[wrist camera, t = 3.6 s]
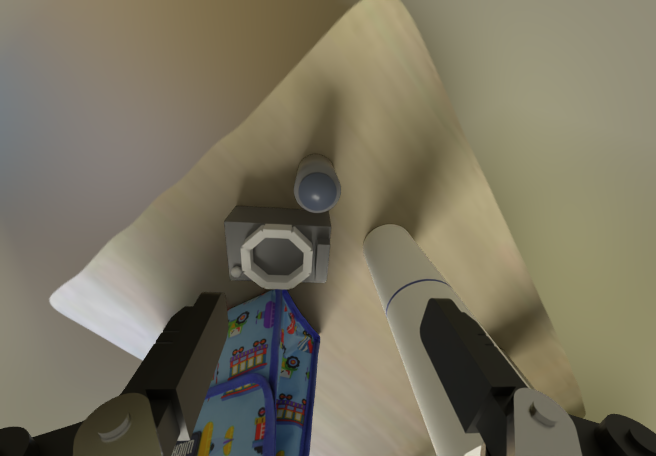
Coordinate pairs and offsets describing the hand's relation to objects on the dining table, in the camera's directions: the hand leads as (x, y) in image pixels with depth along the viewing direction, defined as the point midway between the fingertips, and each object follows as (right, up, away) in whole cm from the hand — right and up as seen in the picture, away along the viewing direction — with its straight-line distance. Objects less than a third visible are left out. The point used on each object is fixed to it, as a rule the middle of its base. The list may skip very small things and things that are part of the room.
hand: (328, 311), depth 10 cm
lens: (-1, +10, +21) cm, 24 cm away
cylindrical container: (+9, +1, +27) cm, 28 cm away
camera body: (-6, +2, +25) cm, 26 cm away
